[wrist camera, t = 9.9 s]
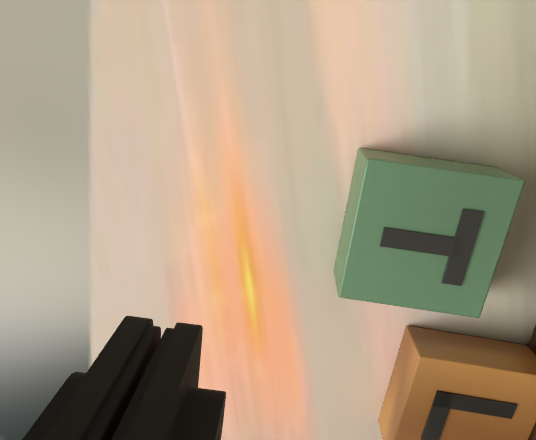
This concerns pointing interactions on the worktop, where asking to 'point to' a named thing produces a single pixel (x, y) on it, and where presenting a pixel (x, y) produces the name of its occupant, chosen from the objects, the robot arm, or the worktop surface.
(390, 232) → the sage letter tile
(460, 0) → the worktop surface
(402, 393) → the oak letter tile
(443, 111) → the worktop surface
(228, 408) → the worktop surface
